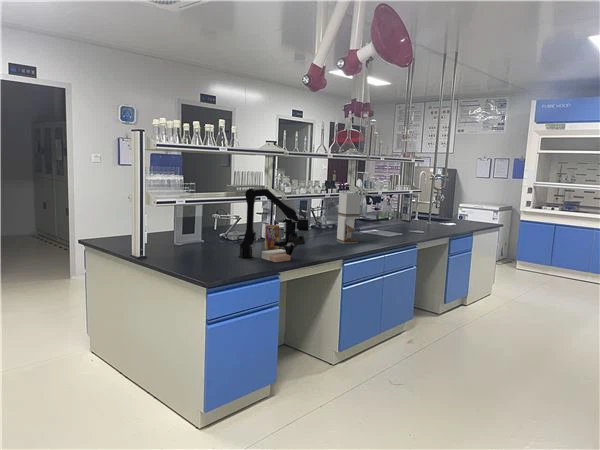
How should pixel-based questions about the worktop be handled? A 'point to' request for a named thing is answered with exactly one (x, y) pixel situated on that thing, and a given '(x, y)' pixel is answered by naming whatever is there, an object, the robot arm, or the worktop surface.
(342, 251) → the worktop surface
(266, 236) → the candy box
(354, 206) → the tall white box
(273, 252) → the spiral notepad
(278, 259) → the pink rectangular slab
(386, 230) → the worktop surface
